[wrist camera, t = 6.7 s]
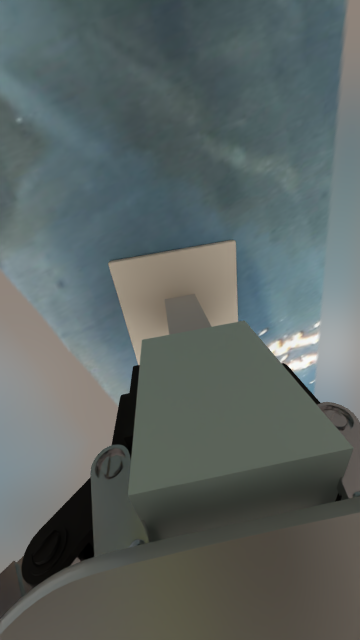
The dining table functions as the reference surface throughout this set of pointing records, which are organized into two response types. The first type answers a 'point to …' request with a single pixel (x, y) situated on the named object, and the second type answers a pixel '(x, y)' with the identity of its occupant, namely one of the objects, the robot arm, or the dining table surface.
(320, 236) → the dining table surface
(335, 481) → the sage green rectangular block
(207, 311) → the pillar on square stand
